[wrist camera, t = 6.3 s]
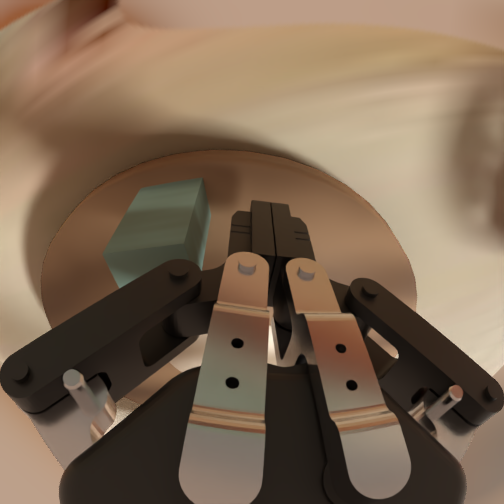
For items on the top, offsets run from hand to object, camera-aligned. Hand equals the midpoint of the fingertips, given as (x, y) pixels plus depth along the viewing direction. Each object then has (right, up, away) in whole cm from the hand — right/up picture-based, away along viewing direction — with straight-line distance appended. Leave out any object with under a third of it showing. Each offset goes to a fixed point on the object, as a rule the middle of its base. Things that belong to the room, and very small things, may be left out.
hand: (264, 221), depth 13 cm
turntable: (-3, -7, +10) cm, 13 cm away
